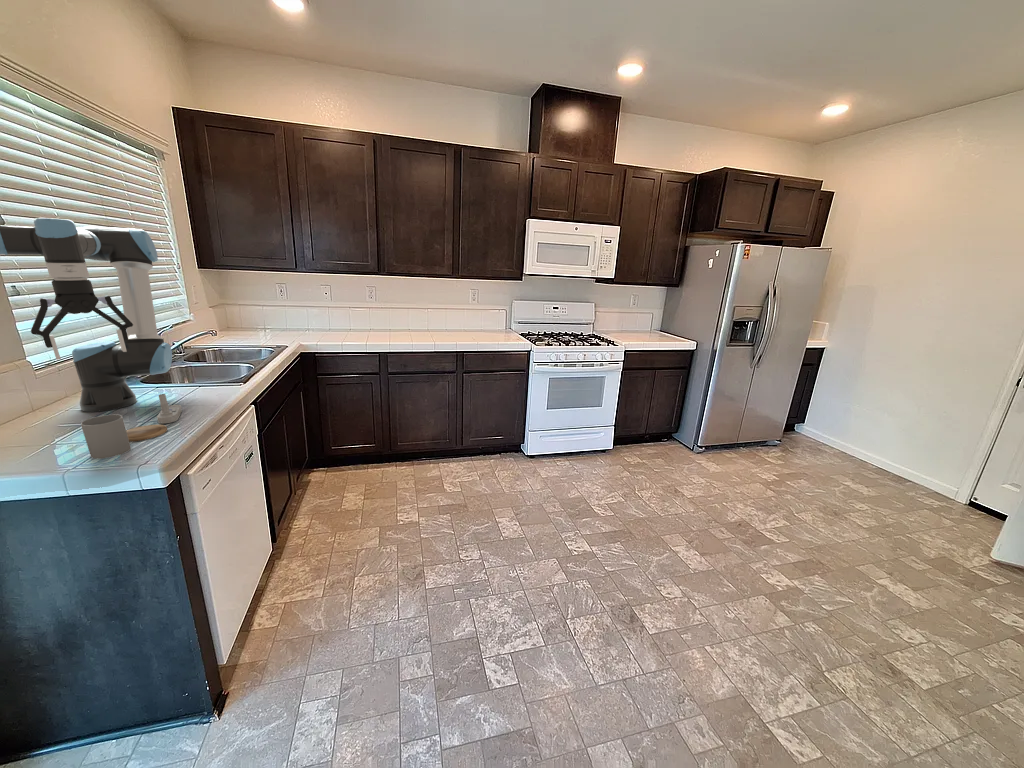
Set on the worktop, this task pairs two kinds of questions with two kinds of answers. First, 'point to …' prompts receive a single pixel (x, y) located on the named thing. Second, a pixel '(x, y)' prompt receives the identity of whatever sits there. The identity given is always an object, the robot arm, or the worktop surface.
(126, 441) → the cup
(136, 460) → the worktop surface
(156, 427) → the plate
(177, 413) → the electronic device
